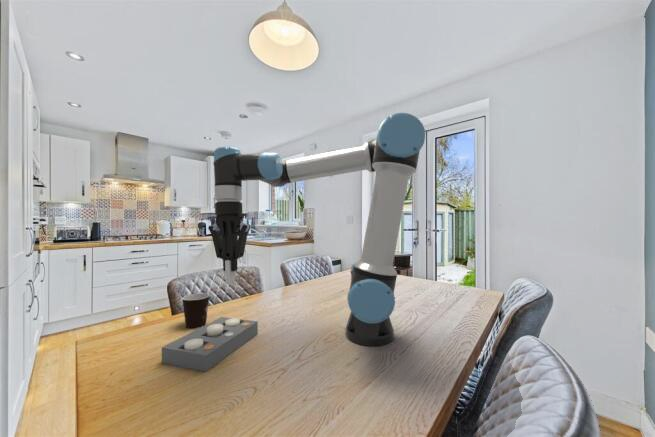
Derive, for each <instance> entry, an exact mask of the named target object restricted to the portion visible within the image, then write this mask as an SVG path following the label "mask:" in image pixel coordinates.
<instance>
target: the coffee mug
mask: <svg viewBox="0 0 655 437" xmlns="http://www.w3.org/2000/svg"><path fill="white" fill-rule="evenodd" d="M181 299H182V300H181V301H182V308H183V314H184V321H185V322H184V323H185V328H186V329H192V330H193V329H194V330H195V329H199V328H201V327H203V326H205V325H207V318H208V311H209V300H210V293H205V292H204V293H203V292H202V293H201V292H200V293H191V294H187V295H184V296H183V297H182V298H181Z"/></svg>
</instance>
